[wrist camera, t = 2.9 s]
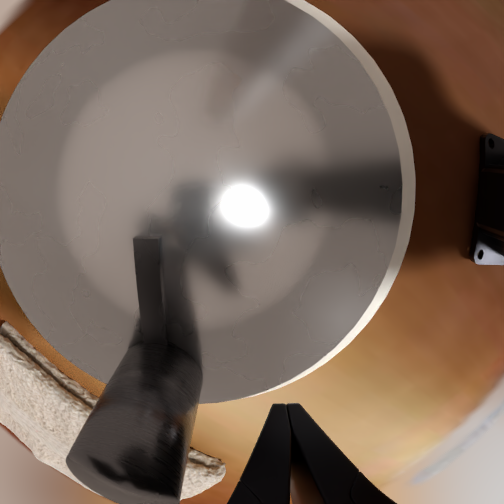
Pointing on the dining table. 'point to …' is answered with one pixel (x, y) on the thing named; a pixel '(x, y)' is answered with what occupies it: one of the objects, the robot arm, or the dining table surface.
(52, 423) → the washcloth
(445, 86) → the dining table surface
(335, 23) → the dial base
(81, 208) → the dial
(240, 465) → the dining table surface
